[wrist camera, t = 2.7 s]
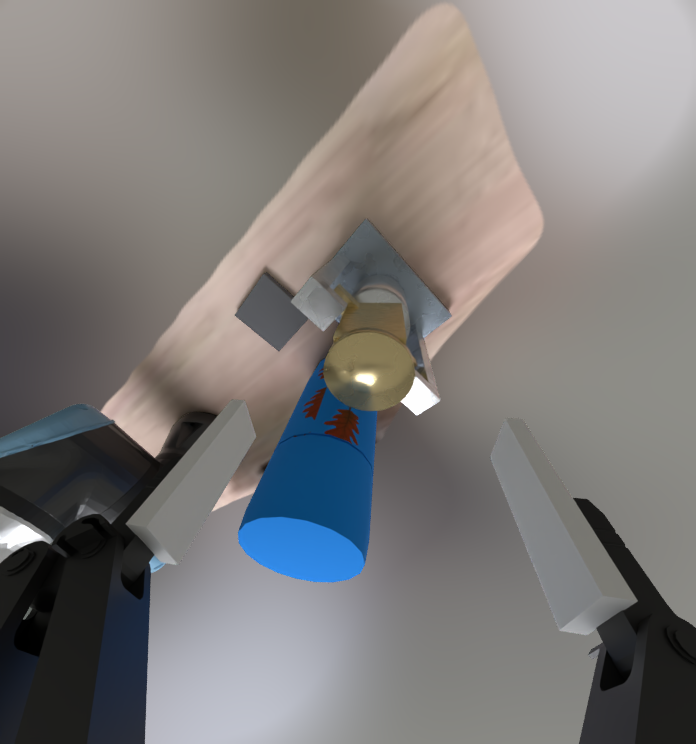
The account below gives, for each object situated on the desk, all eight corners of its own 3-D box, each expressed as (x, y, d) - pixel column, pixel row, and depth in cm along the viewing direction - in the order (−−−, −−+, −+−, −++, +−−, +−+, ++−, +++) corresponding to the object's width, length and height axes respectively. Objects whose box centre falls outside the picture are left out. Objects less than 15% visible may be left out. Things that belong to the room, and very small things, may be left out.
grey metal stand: (386, 360, 39) (384, 438, 25) (309, 287, 34) (258, 334, 21) (448, 310, 33) (488, 375, 20) (367, 218, 29) (348, 222, 16)
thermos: (355, 417, 45) (326, 593, 24) (302, 387, 43) (220, 550, 22) (392, 375, 40) (395, 556, 19) (333, 339, 38) (262, 495, 17)
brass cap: (437, 341, 25) (458, 395, 18) (384, 380, 29) (383, 441, 21) (360, 259, 22) (345, 282, 15) (311, 314, 26) (278, 356, 18)
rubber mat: (281, 348, 40) (278, 351, 39) (238, 313, 38) (234, 315, 37) (312, 313, 36) (310, 316, 35) (266, 272, 34) (263, 273, 33)
